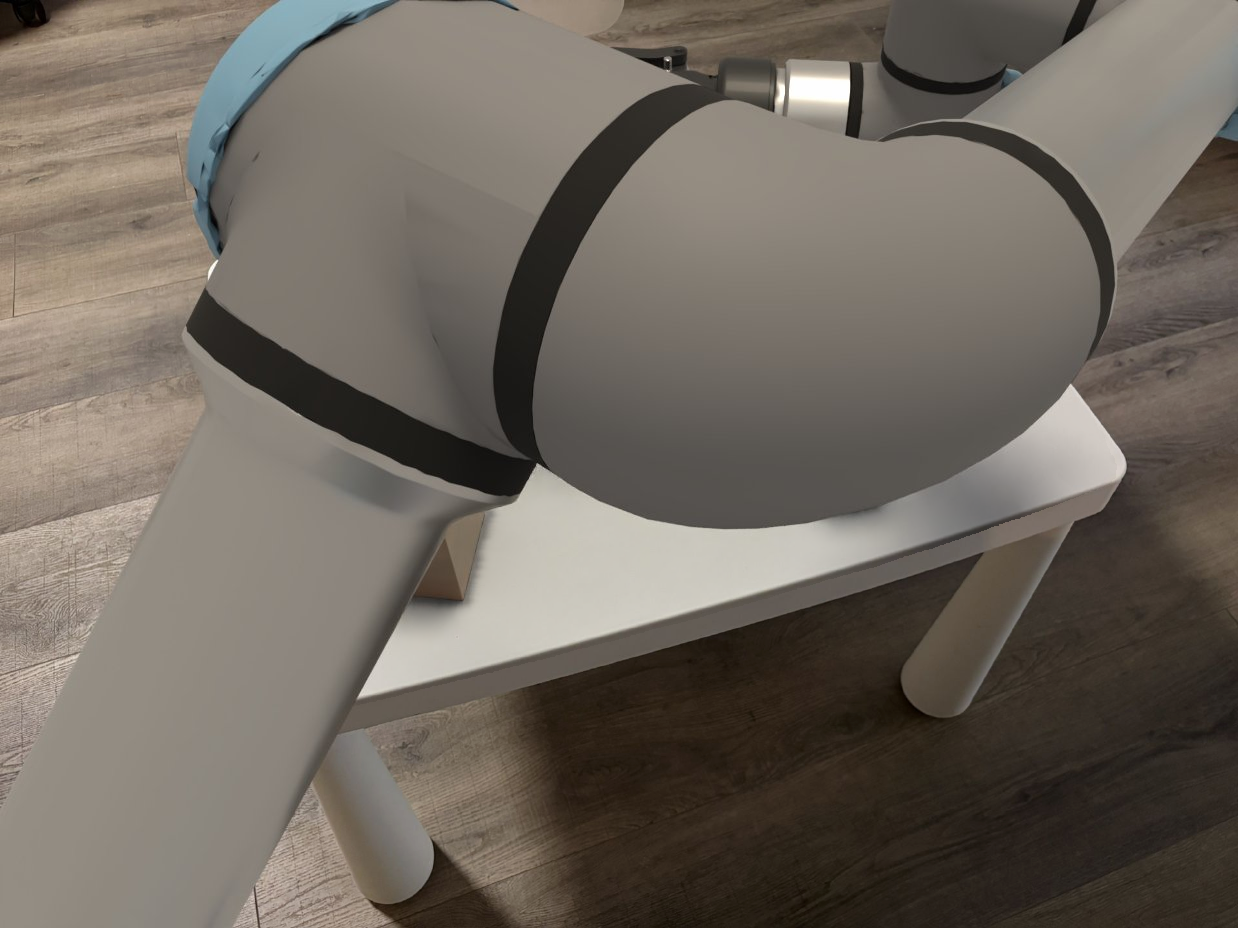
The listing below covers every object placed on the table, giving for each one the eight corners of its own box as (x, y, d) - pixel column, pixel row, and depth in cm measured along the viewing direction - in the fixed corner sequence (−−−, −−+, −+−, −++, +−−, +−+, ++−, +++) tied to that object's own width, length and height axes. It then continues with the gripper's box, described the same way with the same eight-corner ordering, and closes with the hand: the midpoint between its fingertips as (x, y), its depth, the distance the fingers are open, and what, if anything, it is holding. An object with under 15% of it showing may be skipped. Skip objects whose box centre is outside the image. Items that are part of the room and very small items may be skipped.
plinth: (463, 600, 71) (436, 508, 61) (359, 590, 71) (317, 498, 62) (484, 513, 75) (463, 415, 66) (387, 504, 76) (352, 406, 67)
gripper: (764, 254, 60) (407, 232, 62) (770, 97, 71) (466, 82, 73) (778, 151, 54) (382, 130, 56) (782, -3, 65) (451, -16, 67)
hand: (430, 103), depth 64 cm, fingers closed on block, 5 cm apart
